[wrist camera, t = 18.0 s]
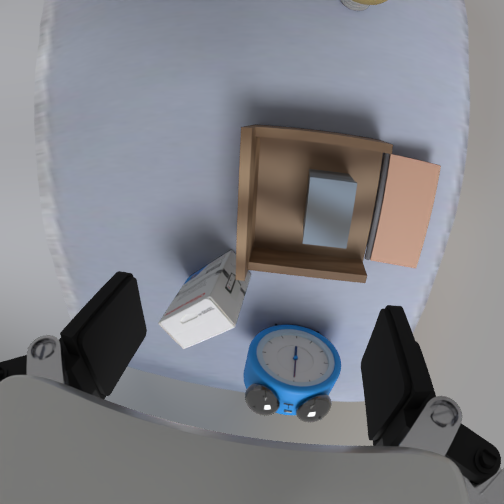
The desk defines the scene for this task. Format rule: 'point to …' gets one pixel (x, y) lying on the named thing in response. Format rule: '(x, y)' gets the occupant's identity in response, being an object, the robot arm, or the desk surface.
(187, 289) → the ink box
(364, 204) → the brown open box
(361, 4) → the light bulb
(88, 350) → the robot arm
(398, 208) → the panel
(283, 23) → the desk surface
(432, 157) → the desk surface
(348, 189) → the blue gray block
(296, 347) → the alarm clock
